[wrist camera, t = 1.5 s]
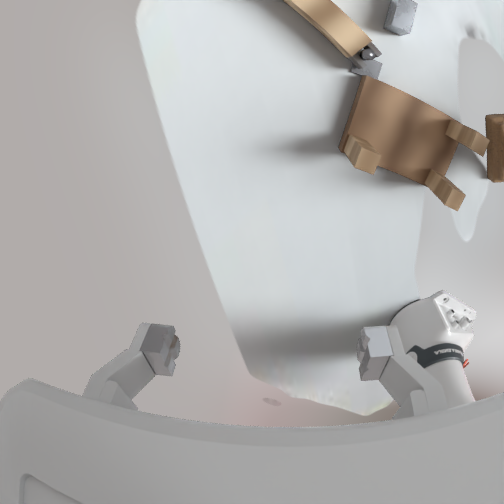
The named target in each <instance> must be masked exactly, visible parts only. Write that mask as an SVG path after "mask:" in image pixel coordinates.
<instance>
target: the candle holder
mask: <svg viewBox="0 0 504 504" xmlns="http://www.w3.org/2000/svg"><path fill="white" fill-rule="evenodd" d="M485 121H486V138H487V139H489V140H490V141H489V143H488V146H487V177H488V179H489V180H491V181H492V182H504V114H492V115H486V118H485Z"/></svg>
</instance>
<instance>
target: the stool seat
mask: <svg viewBox="0 0 504 504" xmlns="http://www.w3.org/2000/svg"><path fill="white" fill-rule="evenodd" d="M489 141H490V140H489V139H487V138H486V137H484V136H483V135H482V134H480V133H479V132H477V131H475V130H473V129H471V128H469V127H467V126H465V125H463V124H461V123H459V122H458V121H456V120H454V119H453V118H451V117H450V116H448V115H446V114H444V113H443V112H441V111H439V110H437V109H436V108H434V107H432V106H430V105H428V104H427V103H425V102H423V101H421V100H419V99H417V98H415V97H413V96H411V95H409V94H407V93H405V92H403V91H401V90H399V89H397V88H395V87H392V86H390V85H388V84H386V83H384V82H381V81H379V80H377V79H374V78H372V77H369V76H367V75H363V76H362V78H361V81H360V84H359V88H358V91H357V94H356V97H355V100H354V103H353V106H352V109H351V112H350V115H349V118H348V121H347V124H346V127H345V130H344V133H343V135H342V138H341V141H340V144H339V147H338V148H339V150H340V151H341V152H342V153H345V154H346V155H347V157H348V158H349V160H350V161H351V163H352V165H353V166H354V168H357V169H360V170H362V171H365V172H368V173H370V174H373V175H374V173H375V170H376V168H377V166H380V167H382V168H385V169H387V170H390V171H392V172H395V173H397V174H399V175H402V176H404V177H406V178H409V179H411V180H413V181H416V182H418V183H420V184H422V185H424V186H427V187H428V188H430V190H432V192H433V193H434V194H435V195H436V196H437V197H438V198H439V199H440V200H441V201H442V202H443V204H444V205H446V206H448V207H450V208H452V209H454V210H456V211H458V210H459V208H460V206H461V204H462V202H463V200H464V198H465V196H466V195H465V194H464V193H463V192H462V191H461V190H459V189H458V188H457V187H456V186H455V185H454V184H453V183H452V182H451V181H449V180H448V179H447V178H446V177H445V174H446V172H447V169H448V167H449V165H450V162H451V160H452V158H453V155H454V153H455V151H456V148H457V146H458V143H461V144H463V145H464V146H466V147H468V148H469V149H471V150H473V151H474V152H476V153H478V154H479V155H481V156H482V157H483V156H484V153H485V151H486V148H487V146H488V143H489Z"/></svg>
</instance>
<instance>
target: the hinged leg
mask: <svg viewBox="0 0 504 504" xmlns="http://www.w3.org/2000/svg"><path fill="white" fill-rule="evenodd" d="M283 1H284V2H286V3H287V4H288V5H289V6H291V7H292V8H293V9H294V10H296V11H297V12H298V13H299V14H300V15H302V16H303V17H304V18H305V19H306V20H307V21H308V22H310V23H311V24H312V25H313V26H314V27H315V28H316V29H317V30H319V31H320V32H321V33H322V34H323V35H324V36H325V37H326V38H327V39H328V40H329V41H330V42H331V43H332V44H333V45H334V46H335V47H336V48H337V49H338V50H339V51H340V52H341V53H342V54H343V55H344V56H345V57H346V58H349V59H350V60H351V61H352V63H353V64H354V65H355V66H356V67H357V68H358V69H363V68H365V67H366V66H367V64H366V63H365V62H364V61H363V60H362V59H361V58H360V57H359V56H358V55H357V54H356V53H357V52H358V51H360V50H361V49H362V48H364V49H365V50H366V49H371V50H373V51H374V52H375V57H379V56H380V55H381V54H382V53H381V52H380V51H379V50H378V49H377V48H376V47H375V45H374V44H373V43H372V42H371V41H372V40H371V39H370V38H369V37H368V36H367V35H366V34H365V33H364V32H363V31H362V30H361V29H360V28H359V27H358V26H357V25H356V24H355V23H354V22H353V21H352V20H351V19H350V18H349V17H348V16H347V15H346V14H345V13H344V12H343V11H342V10H341V9H340V8H339V7H338V6H336V5H335V4H334V3H333V2H332V1H331V0H283Z"/></svg>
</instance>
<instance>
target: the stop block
mask: <svg viewBox="0 0 504 504" xmlns="http://www.w3.org/2000/svg"><path fill="white" fill-rule="evenodd" d="M417 4H418V3H416V2H414V1H412V0H391V3H390V7H389V10H388V14H387V18H386V21H385V25H384V28H385V29H387V30H389V31H392V32H394V33H396V34H398V35H400V36H401V35H405V34H409V33H410V31H411V27H412V24H413V20H414V16H415V12H416V8H417Z"/></svg>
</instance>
